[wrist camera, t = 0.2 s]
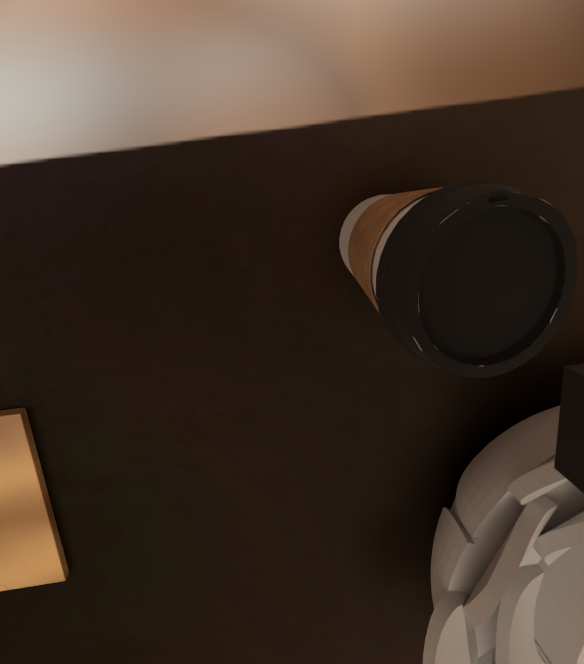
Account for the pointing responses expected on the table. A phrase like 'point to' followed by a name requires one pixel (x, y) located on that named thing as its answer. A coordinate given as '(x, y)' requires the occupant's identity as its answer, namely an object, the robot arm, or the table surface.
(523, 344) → the coffee cup
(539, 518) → the decorative bowl
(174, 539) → the table surface
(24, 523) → the cork pad
